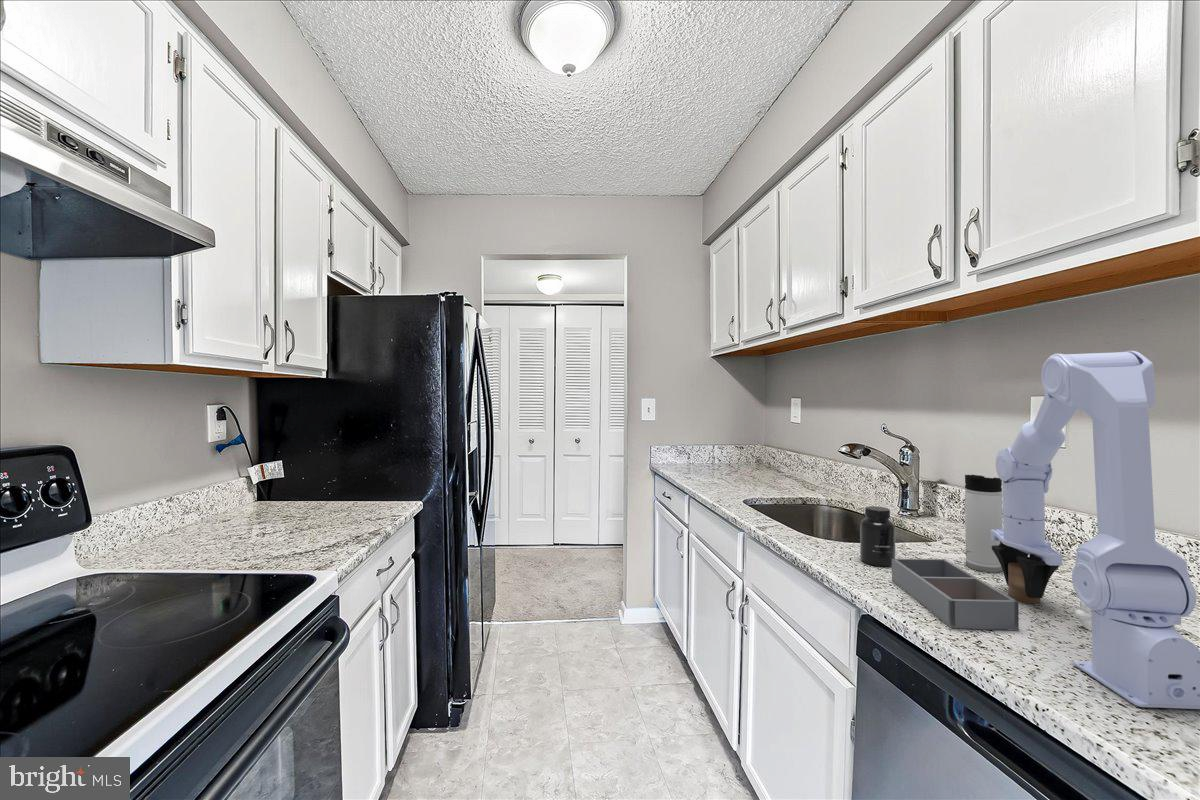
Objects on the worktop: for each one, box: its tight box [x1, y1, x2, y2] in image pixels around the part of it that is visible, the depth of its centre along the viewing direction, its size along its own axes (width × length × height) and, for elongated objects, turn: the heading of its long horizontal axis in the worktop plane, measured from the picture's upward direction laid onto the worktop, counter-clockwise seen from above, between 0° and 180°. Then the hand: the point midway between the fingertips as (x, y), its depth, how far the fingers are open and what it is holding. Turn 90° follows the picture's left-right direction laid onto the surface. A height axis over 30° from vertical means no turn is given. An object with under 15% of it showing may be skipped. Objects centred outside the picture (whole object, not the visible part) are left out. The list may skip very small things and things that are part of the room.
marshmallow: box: [1073, 600, 1092, 631], centre depth 78 cm, size 5×1×4 cm, turn 68°
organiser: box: [891, 558, 1020, 631], centre depth 89 cm, size 20×10×4 cm, turn 174°
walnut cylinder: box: [1007, 562, 1042, 605], centre depth 90 cm, size 4×4×6 cm
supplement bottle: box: [859, 505, 896, 568], centre depth 110 cm, size 7×7×12 cm
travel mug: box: [964, 474, 1003, 574], centre depth 105 cm, size 6×7×20 cm
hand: (1024, 591), depth 90 cm, fingers closed on walnut cylinder, 4 cm apart
